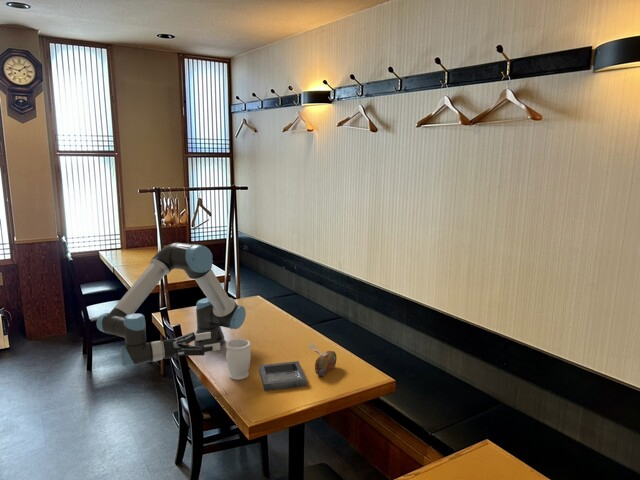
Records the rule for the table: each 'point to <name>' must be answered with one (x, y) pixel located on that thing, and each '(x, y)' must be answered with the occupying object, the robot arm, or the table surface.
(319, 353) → the fork
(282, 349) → the table surface
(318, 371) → the tin
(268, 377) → the dark grey square tray
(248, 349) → the jar
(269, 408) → the table surface
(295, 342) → the table surface
